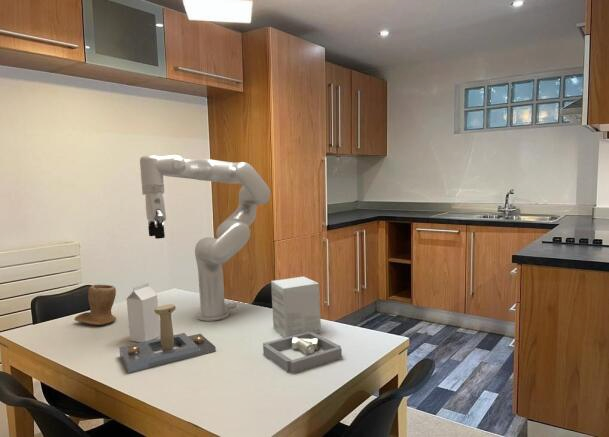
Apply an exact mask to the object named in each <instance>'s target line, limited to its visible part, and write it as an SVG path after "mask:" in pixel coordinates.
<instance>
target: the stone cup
mask: <svg viewBox="0 0 609 437" xmlns="http://www.w3.org/2000/svg"><path fill="white" fill-rule="evenodd" d="M87 292H88V293H87V295H88V296H87V298H88V299H87V300H88V305H89V309H90V311H88V312H83V313H80V314H78V315H77V316H75V317H74V319H73V320H74V321H76V322H79V323H85V324H88V325H95V326H102V325H103V326H104V325H107V324H110V323H113V322H115V321H117V317H116V316H115V315H113V314H112V308H113V305H114V303H115V299H116V296H117V289H116V287H115V286H114V285H110V284H92V285H90V287H89V288H88V291H87Z"/></svg>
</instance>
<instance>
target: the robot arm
mask: <svg viewBox="0 0 609 437" xmlns="http://www.w3.org/2000/svg"><path fill="white" fill-rule="evenodd" d="M139 167H140V180H141V191H142V194H141V195H142V196H143V195H145V212H146V219H147V221H148V223H147V224H148V236H149V237H154V239H157V240H159V239H164V238H165V237H166V236H165V224H164V222H165V221H166V220H167V215H166V206H165V205H166V204H165V200H164V194H165V184H164V177H172V178H179V179H180V178H181V179H191V180H196V181H205V182H213V183H214V182H215V183H223V184H231V185H232V184H234V185H237V184H241V185H242V187H240V189H239V192H238V206H237V208H236V209H235V210H234V211H233V212H232V213H231V214H230V215H229V216H228V217H227V218H225V220H224V221H222V222H221V223H220V224H219V226H218V227H217V229H216V237H217V238H214V237H209V236H208V237H203V238H200V240H198V241H197V243H196V244H195V246H194V247H195V248H194V257H195V260H196V265H197V273H198V275H197V276H198V290H199V303H200V306H199V307H200V312H198V313H197V315H196V318H197V319H198V320H199V321H204V322H214V321H219V320H220V321H221V320H224V319H226V318H227V317H229V316H230V310H233V309H237V307H238V306H237V305H238V304H237V303H236V302H235V303H226V299H225V286H224V285H225V284H224V271H223V265H224V264H226V263H227V262H229V261H230V260H231V259H232V258H233V257H234V256H235V255H236V254H237V253H238V252H239V251H240V250H241V249H242V248H243V247H244V246H246V245H247V243H248V241H249V239H250V237H251V228H250V226H251V224H253V223H254V221H255V220H256V216H257V209H258V208H257V205H258V206H262V205H265V204H267V203H268V202H269V201H270V200H271V193H272V192H271V189H270V187H269V186H268V185H267V183H266V182H265V181H264V179H263V178H262V177H261V175H260V174H259V173H258V172H257V170H256V169H255V168H254V167H253V166H252V165H251V164H249V163H248V162H245V161H240V162H231V161H225V160H224V161H223V160H217V159H211V158H198V159H197V158H196V159H186V158H183V156H181V155H178V154H169V155H152V154H151V155H143V156H141V157H140V158H139Z"/></svg>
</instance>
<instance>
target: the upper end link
mask: <svg viewBox="0 0 609 437" xmlns="http://www.w3.org/2000/svg"><path fill="white" fill-rule="evenodd" d="M173 335H174V342H177V341H180V342H181V343H182V344H183V346H184V347H181V346H179V347H176V348H173V349H172V350H167V351H163V352H162V351H160V352H156V353H155V351H153V350H152V349H151V347H155V346H160V345H161V339H160V337H158V338H155V339H153V340H150V341H145V342H137V343H132V344H128V345H123V346H119V348H118V349H119V357H120V359H121V361H122V364H123V365H124V367H125V369H126V371H127V373H128V374H131V373H136V372H139V371H143V370H146V369H150V368H149V366H148V363H151V362H155V361H160V360H164V359H168V358H172V357H176V356H180V355H184V354H188V353H192V352H196V351H198V346H197V345H196V344H195V343H194V342H193V341H192V340H191V339H190V338H189V337H188V336H189V335H187V334H186V333H185V332H182V333H178V334H173Z"/></svg>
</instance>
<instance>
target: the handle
mask: <svg viewBox="0 0 609 437" xmlns="http://www.w3.org/2000/svg"><path fill="white" fill-rule="evenodd" d="M154 311H155V313H156V314H158V315H159V327H160V336H159V338H160V339H161V346H162V350H161V352H163V351H167V350H172V349H174V347H173V346H174V335H175V334H174V328H173V320H172V313H173V312H174V311H176V305H175V304H174V303H169V304H163V305H162V304H161V305H158V307H156V308H154Z"/></svg>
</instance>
